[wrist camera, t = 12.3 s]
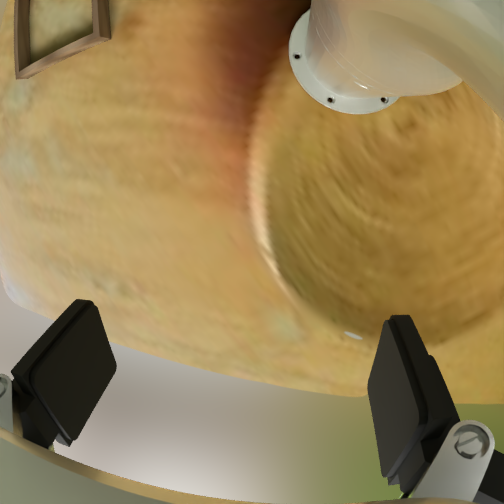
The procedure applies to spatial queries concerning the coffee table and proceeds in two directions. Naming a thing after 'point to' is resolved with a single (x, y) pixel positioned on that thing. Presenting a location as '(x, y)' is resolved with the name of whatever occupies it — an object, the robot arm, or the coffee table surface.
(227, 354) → the coffee table surface
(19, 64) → the walnut frame
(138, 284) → the coffee table surface
